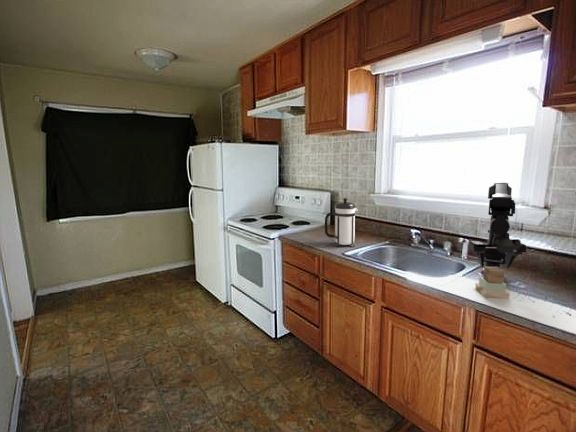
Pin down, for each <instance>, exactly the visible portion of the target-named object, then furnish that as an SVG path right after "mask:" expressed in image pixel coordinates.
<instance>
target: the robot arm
mask: <svg viewBox="0 0 576 432" xmlns="http://www.w3.org/2000/svg"><path fill="white" fill-rule="evenodd" d="M487 199H489V201H488V202H489V203H488V215H487V216H490V223H489V229H488V230H487V233H488V234H489V235H488V239H486V243H484V242H481V241H478V240H477V241H474V240H471V241H469V242H468V245H467V248H468V249H469V250H471V251H472V252H474V253H475V255H476V257H477V260H478V263H479V265H480V267H481V268H482V269H484V266H486V267H499V268H500V267H501V265H505V269H510V267H511V265H512V264H513V262H514V261H515V259H516V258H517V256H520V255H523V254H524V253H527V251H528V247H527V245H526V244H524V243H522V242H521V240H520V239H517V238H514V239H512V238H510V233H509V231H510V229H511V225H510V222H509V221H510V220H509V219H510V218H509V217H513V216H514V215H515V214H516V202H515V200H514V199H513V198H512V187H510V186H509V183H508V182H506V181H505V182H503V181H499V182H498V181H497V182H494V184H492V185H491V186H489V187H488V194H487ZM500 269H501V268H500ZM480 272H481V273H482V274H483V275H484V270H481V271H480Z"/></svg>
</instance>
